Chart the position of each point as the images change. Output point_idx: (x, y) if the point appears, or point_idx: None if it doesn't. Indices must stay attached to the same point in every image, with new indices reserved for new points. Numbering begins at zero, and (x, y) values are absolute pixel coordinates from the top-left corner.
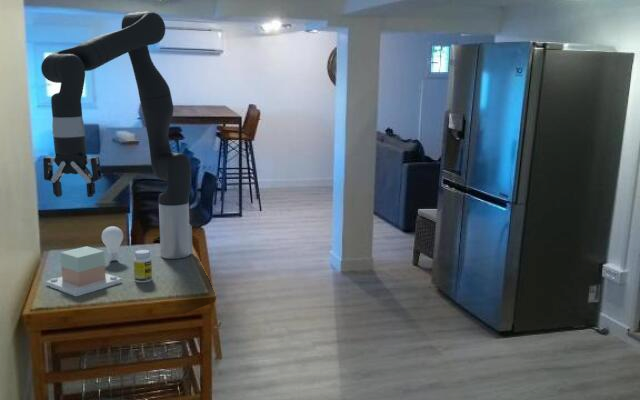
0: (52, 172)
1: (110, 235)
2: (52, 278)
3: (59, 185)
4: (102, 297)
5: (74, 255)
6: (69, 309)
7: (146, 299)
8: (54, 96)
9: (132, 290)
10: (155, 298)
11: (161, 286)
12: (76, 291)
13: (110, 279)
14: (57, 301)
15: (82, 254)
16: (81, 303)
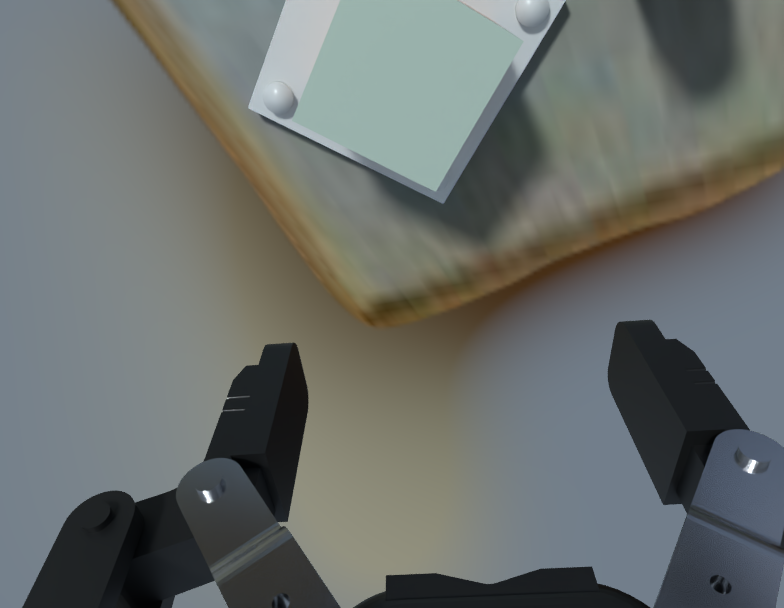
0: (116, 592)
1: None
2: (265, 92)
3: (281, 450)
4: (541, 186)
5: (399, 159)
6: (477, 297)
7: (711, 175)
8: None
9: (637, 89)
10: (745, 159)
11: (762, 9)
12: (442, 197)
13: (519, 22)
14: (402, 248)
15: (431, 134)
16: (491, 249)
